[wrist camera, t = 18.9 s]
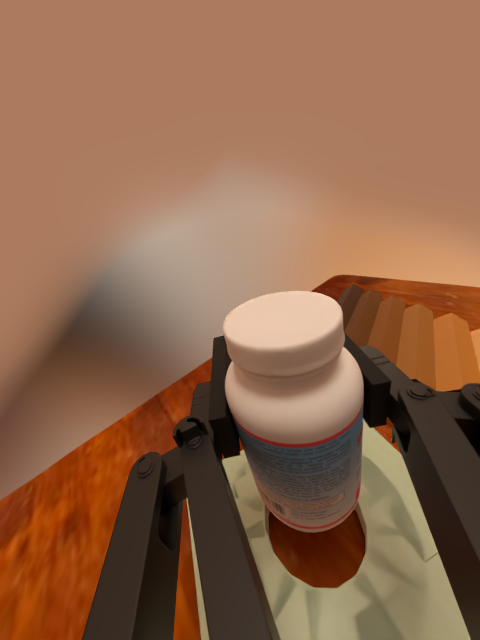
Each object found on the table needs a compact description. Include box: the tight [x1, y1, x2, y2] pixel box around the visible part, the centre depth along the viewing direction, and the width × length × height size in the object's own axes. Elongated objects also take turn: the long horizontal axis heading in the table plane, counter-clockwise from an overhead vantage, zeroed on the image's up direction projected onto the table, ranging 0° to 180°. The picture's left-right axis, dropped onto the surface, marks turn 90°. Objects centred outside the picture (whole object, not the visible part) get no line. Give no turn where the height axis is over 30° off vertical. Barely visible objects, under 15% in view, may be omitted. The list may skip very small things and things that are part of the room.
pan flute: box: [337, 284, 480, 392], centre depth 32 cm, size 25×3×25 cm
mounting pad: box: [187, 419, 471, 640], centre depth 15 cm, size 18×18×2 cm
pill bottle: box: [223, 291, 364, 532], centre depth 11 cm, size 6×6×11 cm
